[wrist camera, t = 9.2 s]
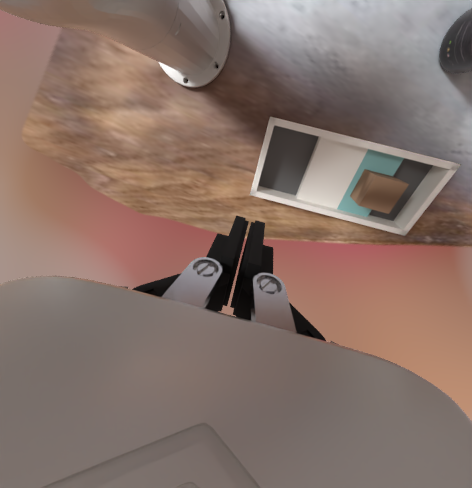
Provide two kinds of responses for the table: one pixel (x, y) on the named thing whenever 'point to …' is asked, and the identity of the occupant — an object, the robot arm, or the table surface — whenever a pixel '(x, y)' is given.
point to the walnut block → (378, 191)
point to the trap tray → (343, 174)
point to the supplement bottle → (458, 46)
